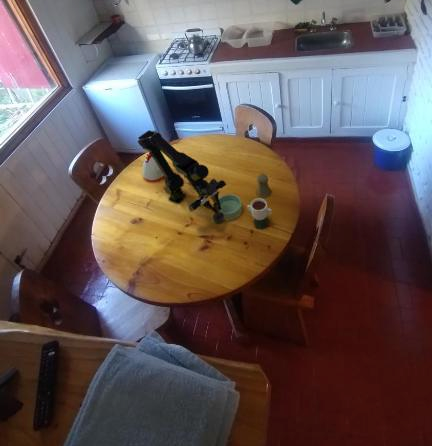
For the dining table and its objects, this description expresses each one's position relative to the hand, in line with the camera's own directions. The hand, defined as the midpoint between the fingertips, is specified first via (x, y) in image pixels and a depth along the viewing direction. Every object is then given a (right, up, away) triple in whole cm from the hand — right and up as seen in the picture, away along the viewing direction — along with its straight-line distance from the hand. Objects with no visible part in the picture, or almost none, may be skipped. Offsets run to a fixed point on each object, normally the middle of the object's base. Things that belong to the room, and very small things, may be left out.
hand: (218, 211), depth 148 cm
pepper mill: (+22, +5, +21) cm, 31 cm away
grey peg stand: (0, -5, +5) cm, 7 cm away
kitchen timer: (-35, +12, +45) cm, 59 cm away
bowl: (+5, -2, +16) cm, 17 cm away
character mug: (+19, -7, +7) cm, 22 cm away
